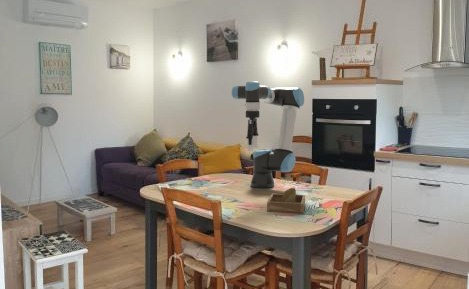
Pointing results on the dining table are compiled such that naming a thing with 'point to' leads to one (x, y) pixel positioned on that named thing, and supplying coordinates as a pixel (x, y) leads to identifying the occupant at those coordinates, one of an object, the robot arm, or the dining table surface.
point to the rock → (289, 196)
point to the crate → (285, 204)
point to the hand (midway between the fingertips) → (252, 149)
